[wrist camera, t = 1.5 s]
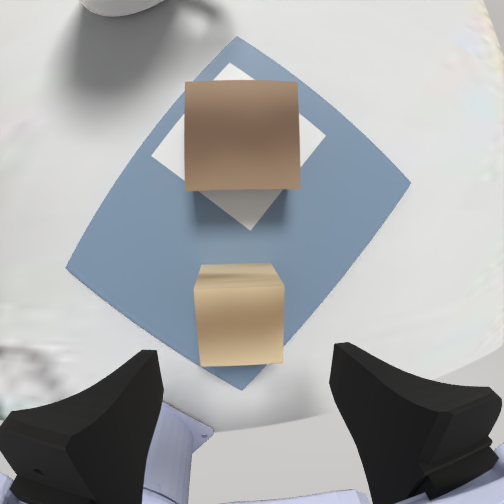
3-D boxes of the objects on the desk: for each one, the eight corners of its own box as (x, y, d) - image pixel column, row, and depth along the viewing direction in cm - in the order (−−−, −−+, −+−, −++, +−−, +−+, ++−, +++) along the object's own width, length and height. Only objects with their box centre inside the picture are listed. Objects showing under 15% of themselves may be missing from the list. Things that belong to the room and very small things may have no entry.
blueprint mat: (241, 387, 23) (242, 390, 22) (67, 266, 20) (65, 267, 19) (408, 182, 20) (411, 182, 20) (236, 38, 17) (236, 35, 17)
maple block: (270, 325, 21) (282, 362, 16) (205, 328, 21) (200, 366, 16) (270, 262, 20) (284, 286, 15) (201, 264, 20) (193, 289, 15)
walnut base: (287, 188, 19) (300, 189, 16) (192, 191, 19) (184, 191, 16) (285, 98, 18) (297, 81, 15) (191, 99, 18) (185, 82, 14)
